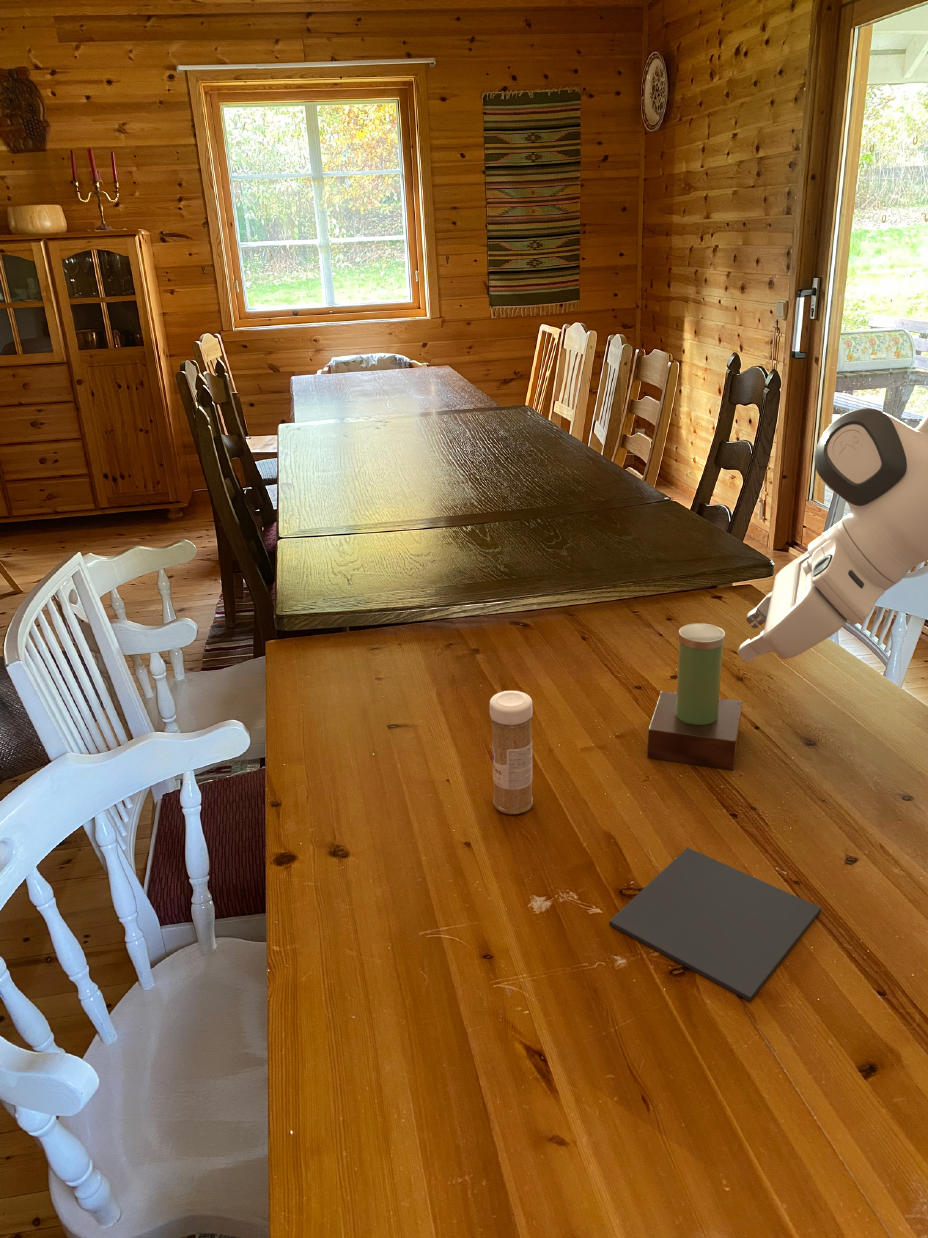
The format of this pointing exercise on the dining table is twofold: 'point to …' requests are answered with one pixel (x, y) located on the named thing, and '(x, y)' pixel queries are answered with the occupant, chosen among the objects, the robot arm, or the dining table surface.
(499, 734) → the sprinkles bottle
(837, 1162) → the dining table surface
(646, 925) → the rubber mat
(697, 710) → the green canister
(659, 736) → the walnut block
